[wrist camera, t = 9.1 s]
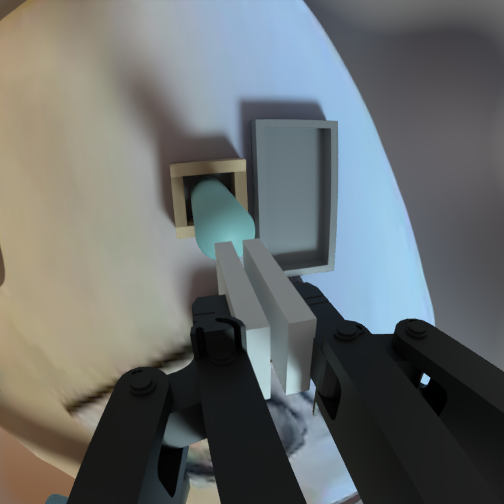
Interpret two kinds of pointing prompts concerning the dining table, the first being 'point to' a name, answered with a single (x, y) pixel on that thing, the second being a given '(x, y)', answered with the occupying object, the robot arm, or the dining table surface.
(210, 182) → the dowel
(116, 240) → the dining table surface
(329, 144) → the tray
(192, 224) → the socket block
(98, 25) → the dining table surface
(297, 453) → the dining table surface
